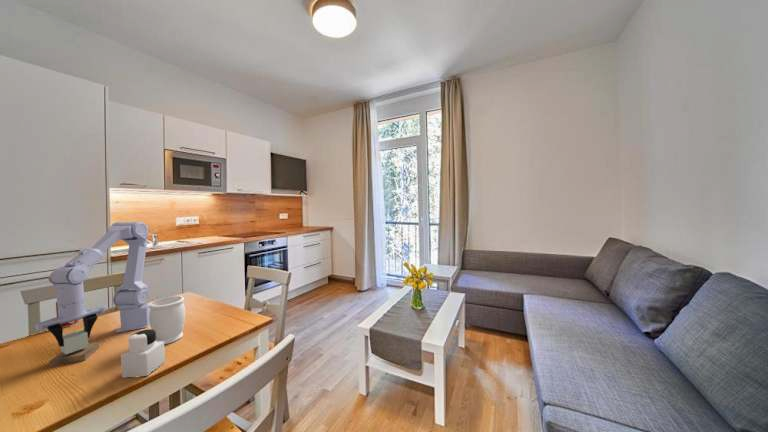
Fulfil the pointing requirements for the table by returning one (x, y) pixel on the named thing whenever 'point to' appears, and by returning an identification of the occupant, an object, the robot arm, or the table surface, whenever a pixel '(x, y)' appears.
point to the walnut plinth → (74, 355)
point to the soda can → (66, 322)
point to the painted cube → (74, 341)
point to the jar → (167, 318)
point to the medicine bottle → (142, 354)
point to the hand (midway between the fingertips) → (74, 341)
